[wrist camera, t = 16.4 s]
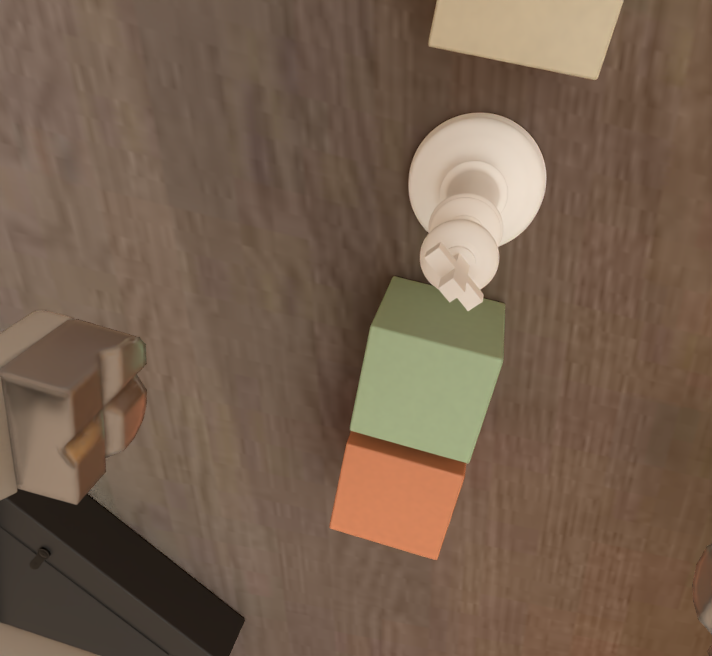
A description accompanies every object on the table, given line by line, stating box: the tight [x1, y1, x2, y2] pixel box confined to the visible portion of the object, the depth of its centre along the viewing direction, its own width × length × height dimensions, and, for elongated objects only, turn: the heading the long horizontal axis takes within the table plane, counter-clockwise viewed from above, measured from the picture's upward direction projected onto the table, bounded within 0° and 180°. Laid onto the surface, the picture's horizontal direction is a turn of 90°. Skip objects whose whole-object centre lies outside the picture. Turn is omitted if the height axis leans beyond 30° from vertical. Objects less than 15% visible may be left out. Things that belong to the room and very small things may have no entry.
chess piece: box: [408, 113, 546, 311], centre depth 19 cm, size 5×5×10 cm
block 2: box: [330, 431, 466, 560], centre depth 27 cm, size 5×5×5 cm
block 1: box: [350, 276, 505, 463], centre depth 24 cm, size 5×5×5 cm
